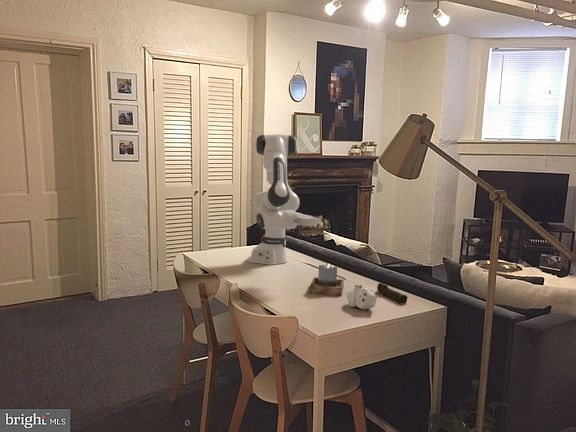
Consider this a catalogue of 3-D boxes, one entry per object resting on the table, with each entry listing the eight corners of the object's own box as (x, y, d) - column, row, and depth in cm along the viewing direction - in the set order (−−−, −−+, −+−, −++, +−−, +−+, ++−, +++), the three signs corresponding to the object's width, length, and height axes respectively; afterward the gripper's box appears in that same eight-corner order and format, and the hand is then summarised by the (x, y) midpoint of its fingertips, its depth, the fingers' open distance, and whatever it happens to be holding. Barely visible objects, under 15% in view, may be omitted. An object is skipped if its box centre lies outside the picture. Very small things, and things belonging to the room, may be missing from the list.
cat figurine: (346, 281, 199) (374, 285, 187) (358, 288, 204) (386, 293, 192) (338, 302, 196) (366, 308, 185) (350, 309, 201) (378, 315, 189)
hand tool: (407, 303, 202) (408, 293, 202) (399, 304, 201) (400, 294, 200) (382, 291, 220) (383, 281, 219) (375, 291, 218) (375, 282, 217)
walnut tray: (309, 293, 212) (310, 285, 211) (313, 284, 226) (313, 277, 225) (341, 295, 210) (341, 288, 209) (343, 286, 223) (343, 279, 223)
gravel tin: (324, 290, 214) (325, 265, 212) (317, 286, 219) (318, 262, 217) (336, 289, 216) (337, 264, 215) (329, 285, 221) (330, 261, 220)
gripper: (300, 216, 216) (327, 215, 222) (281, 210, 234) (306, 209, 240) (300, 229, 217) (326, 228, 223) (281, 222, 235) (305, 221, 241)
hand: (315, 218), depth 232 cm, fingers open, 8 cm apart
